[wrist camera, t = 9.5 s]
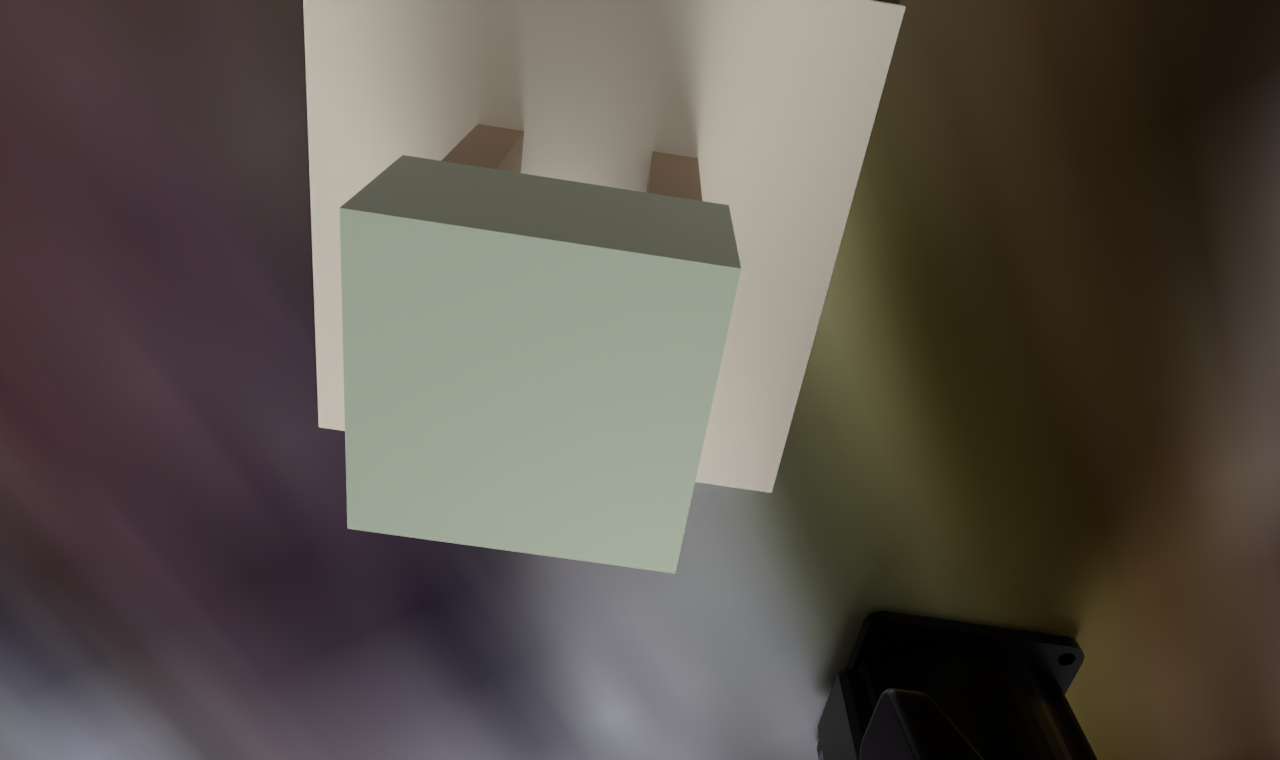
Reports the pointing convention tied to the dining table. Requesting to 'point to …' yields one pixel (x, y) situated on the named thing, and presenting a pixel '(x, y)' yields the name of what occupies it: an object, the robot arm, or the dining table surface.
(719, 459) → the mat
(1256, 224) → the dining table surface
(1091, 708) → the dining table surface
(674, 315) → the stool
